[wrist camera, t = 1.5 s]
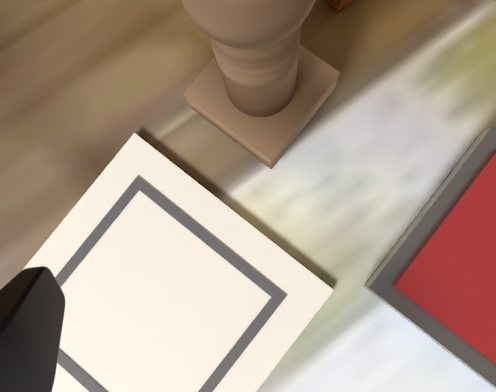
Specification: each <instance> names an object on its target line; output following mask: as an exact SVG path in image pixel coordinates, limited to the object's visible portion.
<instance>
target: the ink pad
mask: <svg viewBox="0 0 496 392" xmlns="http://www.w3.org/2000/svg"><path fill="white" fill-rule="evenodd" d="M364 287H366V288H367V289H368V290H369V291H371V292H372V293H373V294H375V295H376V296H377V297H378V298H380V299H381V300H382V301H384V302H385V303H386V304H387V305H389V306H390V307H391V308H393V309H394V310H395V311H396V312H398V313H399V314H400V315H402V316H403V317H404V318H405V319H407V320H408V321H409V322H411V323H412V324H413V325H414V326H416V327H417V328H418V329H419V330H421V331H422V332H423V333H425V334H426V335H427V336H428V337H430V338H431V339H432V340H434V341H435V342H436V343H437V344H439V345H440V346H441V347H443V348H444V349H445V350H446V351H448V352H449V353H450V354H452V355H453V356H454V357H455V358H457V359H458V360H459V361H461V362H462V363H463V364H464V365H466V366H467V367H468V368H470V369H471V370H472V371H473V372H475V373H476V374H477V375H478V376H480V377H481V378H482V379H484V380H485V381H486V382H487V383H489V384H490V385H491V386H493V387H494V388H496V129H494V128H493V127H490V128H489V129H487V130H485V131H484V132H482V133H480V134H479V136H478V137H477V138H476V140H475V141H474V142H473V144H472V145H471V146H470V148H469V149H468V150H467V151H466V153H465V154H464V155H463V157H462V158H461V159H460V161H459V162H458V163H457V165H456V166H455V167H454V168H453V170H452V171H451V172H450V174H449V175H448V176H447V178H446V179H445V180H444V182H443V183H442V184H441V185H440V187H439V188H438V189H437V191H436V192H435V193H434V195H433V196H432V197H431V199H430V200H429V201H428V202H427V204H426V205H425V206H424V208H423V209H422V210H421V212H420V213H419V214H418V216H417V217H416V218H415V220H414V221H413V222H412V223H411V225H410V226H409V227H408V229H407V230H406V231H405V233H404V234H403V235H402V237H401V238H400V239H399V240H398V242H397V243H396V244H395V246H394V247H393V248H392V250H391V251H390V252H389V254H388V255H387V256H386V257H385V259H384V260H383V261H382V263H381V264H380V265H379V267H378V268H377V269H376V271H375V272H374V273H373V274H372V276H371V277H370V278H369V280H368V281H367V282H366V284H365V285H364Z"/></svg>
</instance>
